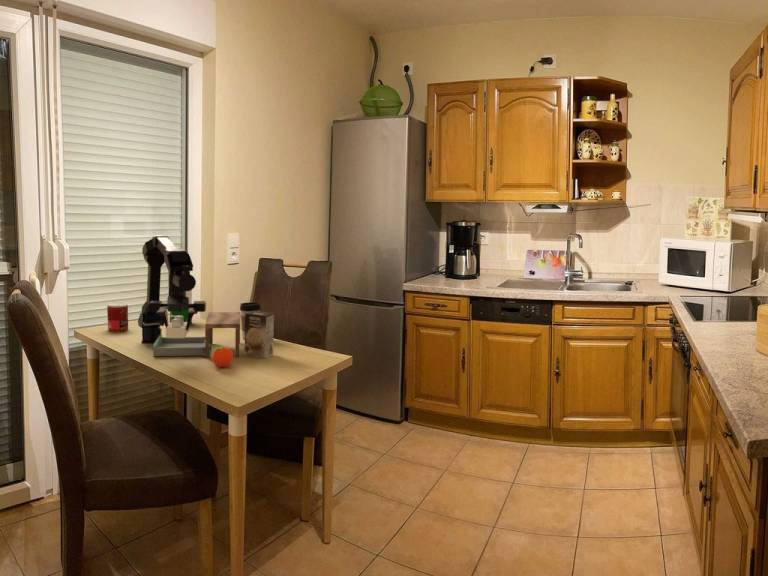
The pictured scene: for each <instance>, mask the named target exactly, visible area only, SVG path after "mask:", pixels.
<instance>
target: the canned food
mask: <svg viewBox="0 0 768 576" xmlns="http://www.w3.org/2000/svg"><path fill="white" fill-rule="evenodd" d="M106 306H107V307H106V309H107V310H106V312H107V329H108V331H109V332H111V331H114V332H113V333H119V332H118V331H122V332H126V331H128V329H129V304H128V303H126V302H125V303H124V302H111V303H107V305H106ZM125 330H126V331H125Z"/></svg>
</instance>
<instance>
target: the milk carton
mask: <svg viewBox="0 0 768 576" xmlns="http://www.w3.org/2000/svg"><path fill="white" fill-rule="evenodd" d="M167 287H168V288H169V285H168V286H167ZM192 296H193V289H192V290H190V291H186V297H189V304H193V297H192ZM188 312H189V309H183V311H181V312H178V311H172V312H169V324H170V323H171V320H172V319H174V316H178V315H180V316H183V322H187V319H188ZM192 323H193V318H192V319H191V322H190V325H191V324H192Z"/></svg>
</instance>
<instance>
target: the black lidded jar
mask: <svg viewBox="0 0 768 576" xmlns="http://www.w3.org/2000/svg"><path fill="white" fill-rule="evenodd" d="M239 305H240V306H239V311H240V325H241V331H242V332H241V335H242V340H244V341H245V313H248V312H251V311H261V303H260V302H241V303H240V304H239Z"/></svg>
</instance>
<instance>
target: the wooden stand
mask: <svg viewBox="0 0 768 576" xmlns="http://www.w3.org/2000/svg"><path fill="white" fill-rule="evenodd" d="M204 325H205V326H204V329H205V330H204V331H205V333H204V337H205V355H204V356H205V359H210V358H211V353H210V352H211V345H213V344H214V339H213V337H214V334H213V333H214V331H213V330H214V329H234V330H235V333H234V334H235V336H234V338H235V340H234V341H235V348H234V350H235V351H234V352H235V354H234V356H235V357H234V358H240V350H241V349H240V348H241V347H240V344H241V311H240V312H239V311H237V312H236V311H234V312H233V311H231V312H229V311H228V312H226V311H225V312H223V311H219V312H217V311H214V312H213V311H209V312H208V314H207V316H206V320H205V323H204Z"/></svg>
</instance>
